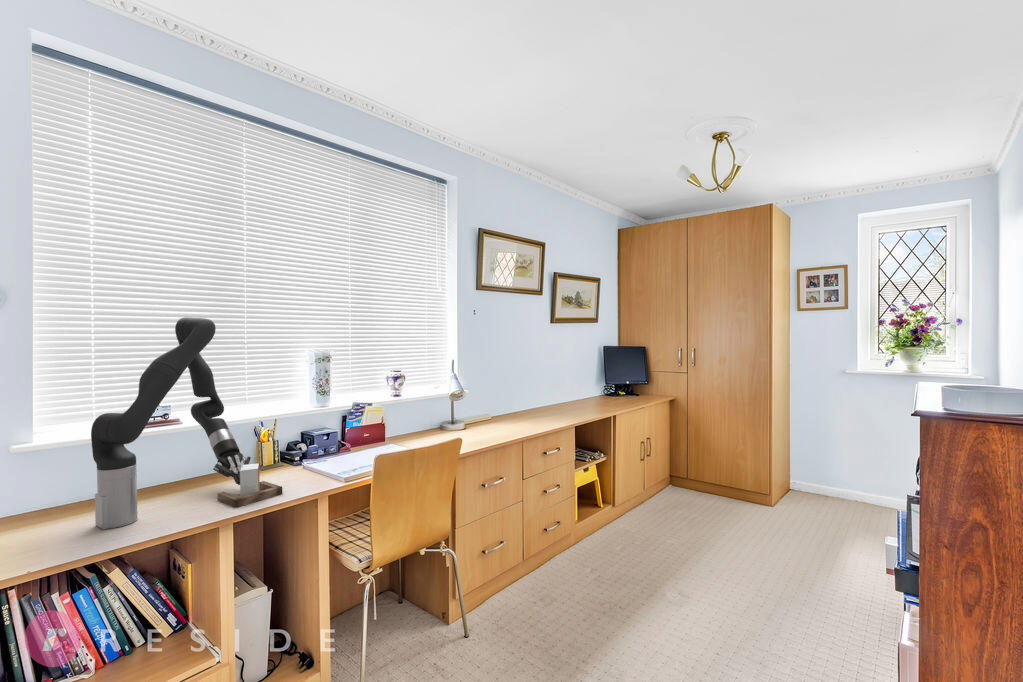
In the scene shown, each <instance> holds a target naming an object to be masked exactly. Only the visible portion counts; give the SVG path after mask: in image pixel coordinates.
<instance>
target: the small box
mask: <svg viewBox="0 0 1023 682" xmlns="http://www.w3.org/2000/svg"><path fill="white" fill-rule="evenodd" d="M260 482H261V481H260V463H251V464H250V463H249V464H248V465H244V464H241V470H240V485H239V491H240V492H239V493H240V495H239V497H241V496H245V495H248V494H252V493H255V492H259V491H261V490H260Z"/></svg>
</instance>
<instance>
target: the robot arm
mask: <svg viewBox="0 0 1023 682" xmlns="http://www.w3.org/2000/svg"><path fill="white" fill-rule="evenodd" d="M174 331H175V337H176V340H177V342H178V345H177V346H176V347H174V348H172V349H170V350H169V351H166V352H165V353H162V354H161V355H159V356H157V358H155V359H154V360H153V361H152V362H151V363H150V364H149V365H148V367H147V368H146V369H145V370H144V371H143V373H142V374H141V375H140V377H139V380H138V381H139V382H138V394H137V396H136V399H134V401H133V402H132V403H131V404H130V407H128V408H127V410H125V411H124V412H121V413H120V412H105V413H102V414H100V415H99V416H97V417H96V418H95V420H94V421H93V423H92V426H91V429H90V436H91V437H90V440H91V450H92V451H91V452H92V457H93V460H94V462H95V464H96V485H97V486H96V487H97V489H96V490H97V493H95V494H94V508H95V509H94V512H95V513H94V514H95V526H96V527H98V528H100V529H101V531H102V530H106V529H113V528H115V529H116V528H120V527H125V526H127V525H130V524H132V523H135V522H137V520H138V512H139V511H138V484H137V483H138V482H137V481H138V480H137V456H136V454H135V453H133V452H131V451H130V450H128V449H127V447H125V445H129V444H131V443H133V442H134V441H136V440H137V439H138V438H139V437H140V436H141V434H142V433H143V432H144V430H145V428H146V426H147V425H148V423H149V421H150V420H151V418H152V417H153V415H154V413H155V411H156V409H157V408H158V407H159V405H160V404H161V403H162V401H163V400H164V399H165V397H166V396H167V394H168V393H169V392H170V391H171V389H172V388H173V387H174V386H175V384H176V383H177V382H178V381H179V379H180V377H182V375H183V374H184V372H185V370H186V369H188V371H189V376H190V381H191V386H192V392H193V395H194V396H195V397H197V398H210V399H208V400H207V399H206V400H203V401H200V402H195V403H193V404H192V405H191V407H190V414H191V417H192V418H193V419H194V420H195V422H197V423H198V424H199V425H200V426H201V427H202V429H203V430H204V431H205V433H206V437H207V439H208V440H209V444H210V447H211V449H212V451H213V453H214V455H215V458H216V460H217V463H216V464H215V465H214V467H213V469H212V470H213V471H214V472H217V473H218V474H220V475H223V476H224V477H226V478H229V477H232V478H233V480H234V482H235V484H236V485H237V486H240V470H241V467H242V465H248V464H250V461H251V459H252V458H251V456H244V455H243V453H241V451H240V448H239V446H238V444H237V441H236V440H235V437H234V435H233V434H232V432H231V431H230V429H229V426H228V424H227V423H226V420H225V419H224V418H221V417H220V416H222V415H223V414H224V411H225V406H224V404H223V402H222V400H221V399H220V397H219V395H218V392H217V389H216V385H215V379H214V373H213V371H212V368H211V367H210V366H209V364H208V363H207V362H206V361H205V359H204V358H203V356H202V354H201V352H202V351H203V350H204V349H205V348H206V347H207V345H208V344H210V342H211V341H212V339H214V336H215V334H216V324H215V323H214V321H213V320H211V319H210V318H203V317H190V316H188V317H187V316H185V317H182V318H179V319H178V321H176V323H175V328H174Z"/></svg>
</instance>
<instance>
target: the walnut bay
mask: <svg viewBox="0 0 1023 682" xmlns="http://www.w3.org/2000/svg"><path fill="white" fill-rule="evenodd" d="M282 494H283V486H282V485H281V486H280V485H278V484H275V483H271V482H269V481H266V480H262V481H260V491H259V492H255V493H252V494H248V495H245V496H241V497H240V496H237V495H235V494H232V493H228V492H225V491H221V492H217V501H219V502H220V503H223V504H226V505H229V506H231V507H233V508H236V507H237V508H239V507H243V506H246V505H249V504H250V505H251V504H253V503H256V502H260V501H263V500H266V499H269V498H272V497H277V496H279V495H282Z"/></svg>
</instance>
